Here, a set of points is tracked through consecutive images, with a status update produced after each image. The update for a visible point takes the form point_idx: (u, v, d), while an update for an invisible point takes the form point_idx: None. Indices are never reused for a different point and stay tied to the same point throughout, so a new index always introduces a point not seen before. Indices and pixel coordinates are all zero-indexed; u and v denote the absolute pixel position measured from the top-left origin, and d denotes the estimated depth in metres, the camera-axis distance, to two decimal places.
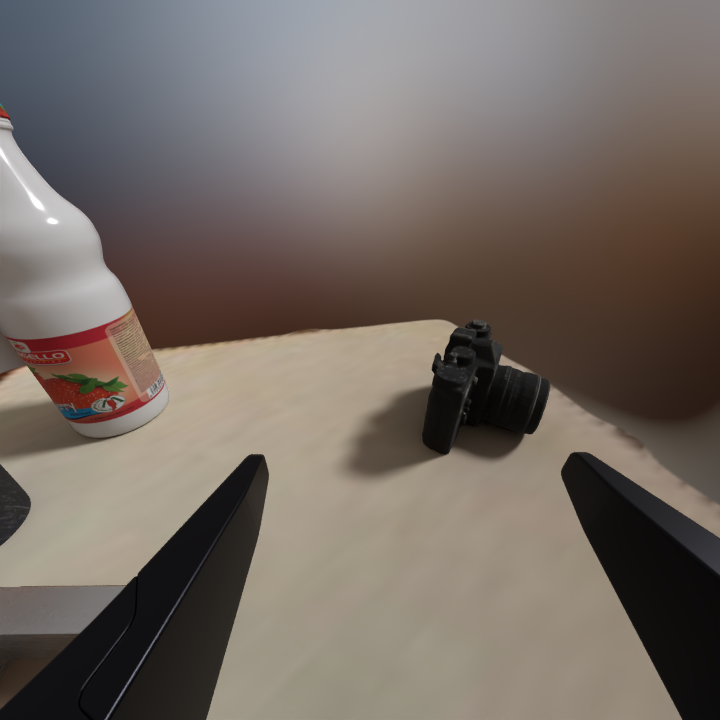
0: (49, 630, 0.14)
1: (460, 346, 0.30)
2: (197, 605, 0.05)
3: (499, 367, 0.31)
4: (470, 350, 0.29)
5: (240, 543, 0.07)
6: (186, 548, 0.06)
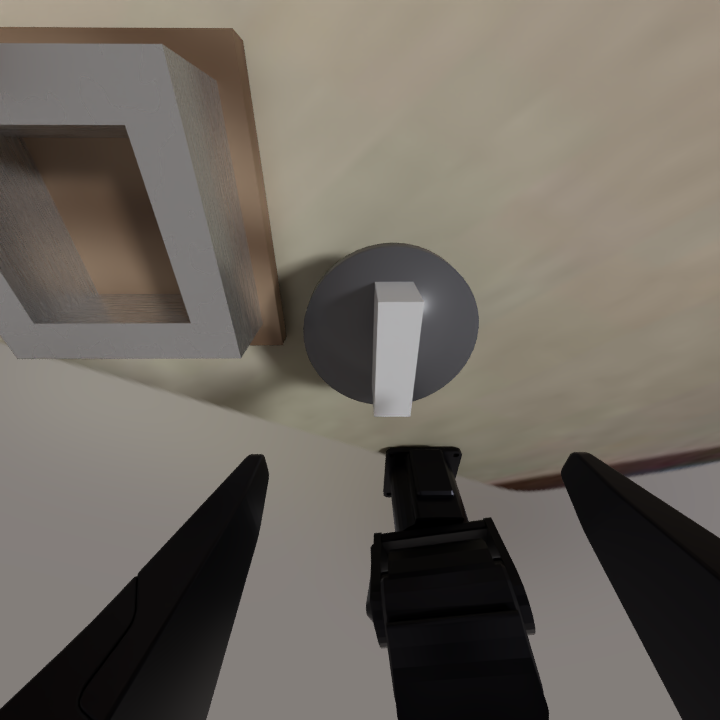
0: (25, 119, 0.10)
1: None
2: (197, 605, 0.05)
3: None
4: None
5: (240, 543, 0.07)
6: (186, 548, 0.06)
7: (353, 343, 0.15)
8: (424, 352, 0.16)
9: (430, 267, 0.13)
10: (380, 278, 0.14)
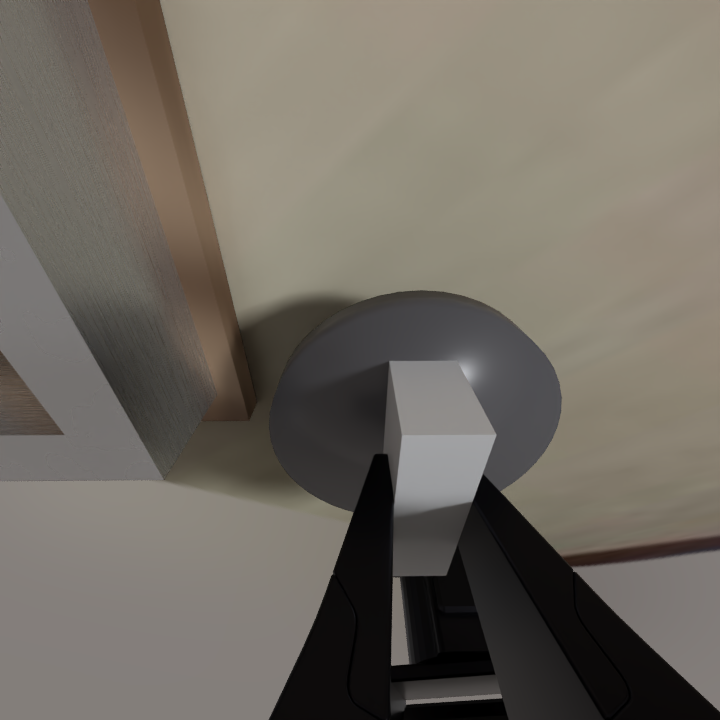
0: None
1: None
2: None
3: None
4: None
5: None
6: (367, 546, 0.06)
7: (351, 445, 0.10)
8: None
9: (490, 338, 0.07)
10: (399, 356, 0.08)
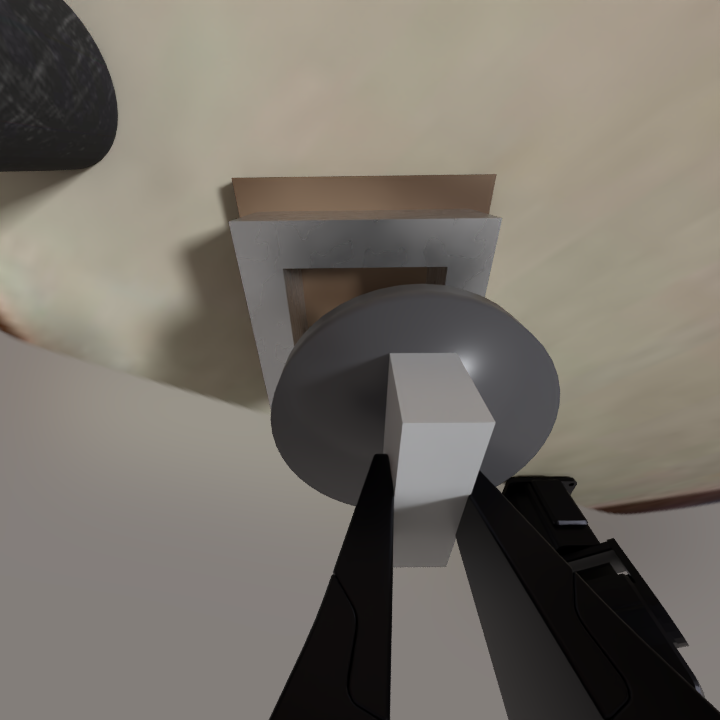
0: (374, 264, 0.13)
1: None
2: None
3: None
4: None
5: None
6: (367, 546, 0.06)
7: (352, 438, 0.10)
8: None
9: (489, 331, 0.08)
10: (399, 348, 0.08)
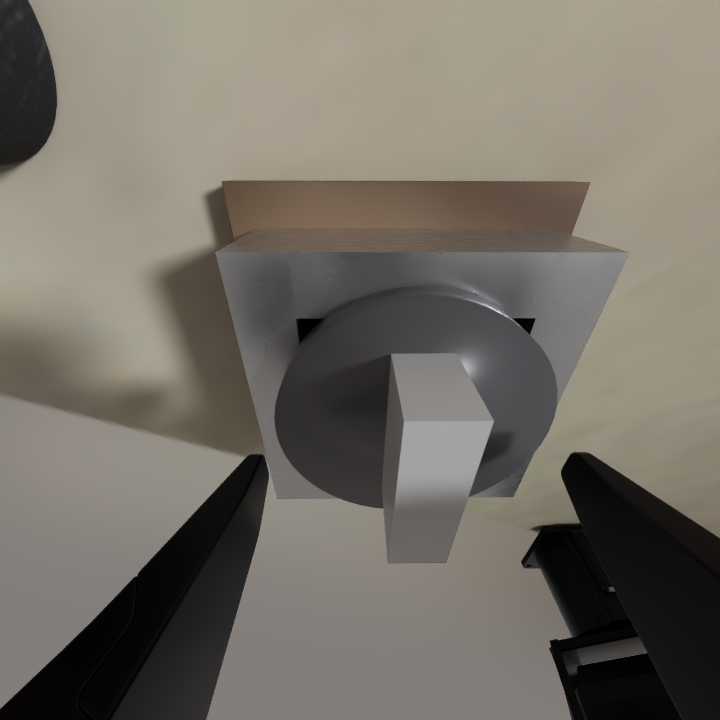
0: None
1: None
2: (197, 605, 0.05)
3: None
4: None
5: (240, 543, 0.07)
6: (186, 548, 0.06)
7: (354, 437, 0.10)
8: None
9: (488, 332, 0.08)
10: (401, 348, 0.08)
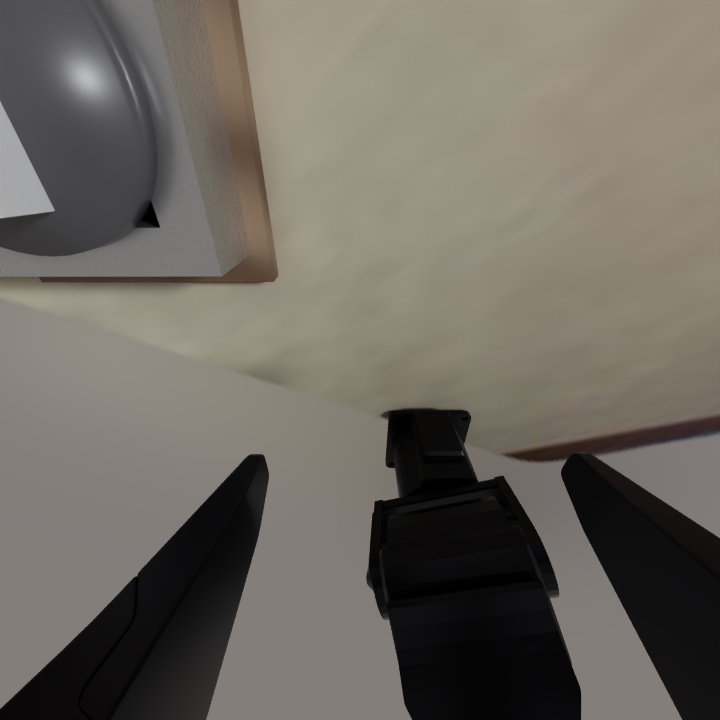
0: None
1: None
2: (197, 605, 0.05)
3: None
4: None
5: (240, 543, 0.07)
6: (186, 548, 0.06)
7: None
8: (46, 130, 0.09)
9: None
10: None
